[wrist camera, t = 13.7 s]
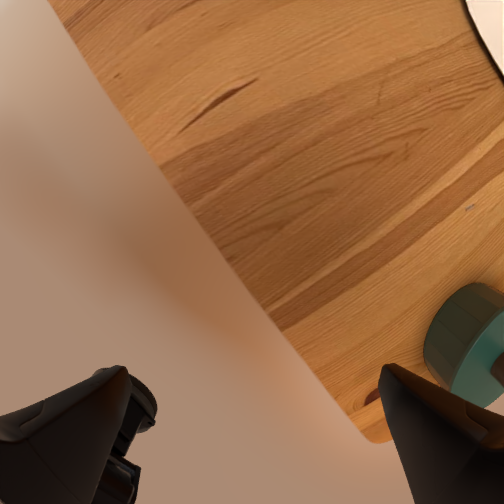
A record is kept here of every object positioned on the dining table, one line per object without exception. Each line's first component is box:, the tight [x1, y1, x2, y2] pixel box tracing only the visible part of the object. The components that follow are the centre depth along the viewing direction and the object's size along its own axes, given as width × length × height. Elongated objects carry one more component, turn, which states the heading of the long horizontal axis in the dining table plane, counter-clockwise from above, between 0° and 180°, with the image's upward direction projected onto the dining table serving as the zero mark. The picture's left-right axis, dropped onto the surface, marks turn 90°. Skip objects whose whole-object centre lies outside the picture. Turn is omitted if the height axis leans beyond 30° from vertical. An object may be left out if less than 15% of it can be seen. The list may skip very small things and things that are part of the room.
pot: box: [424, 283, 504, 391], centre depth 18 cm, size 10×10×6 cm
